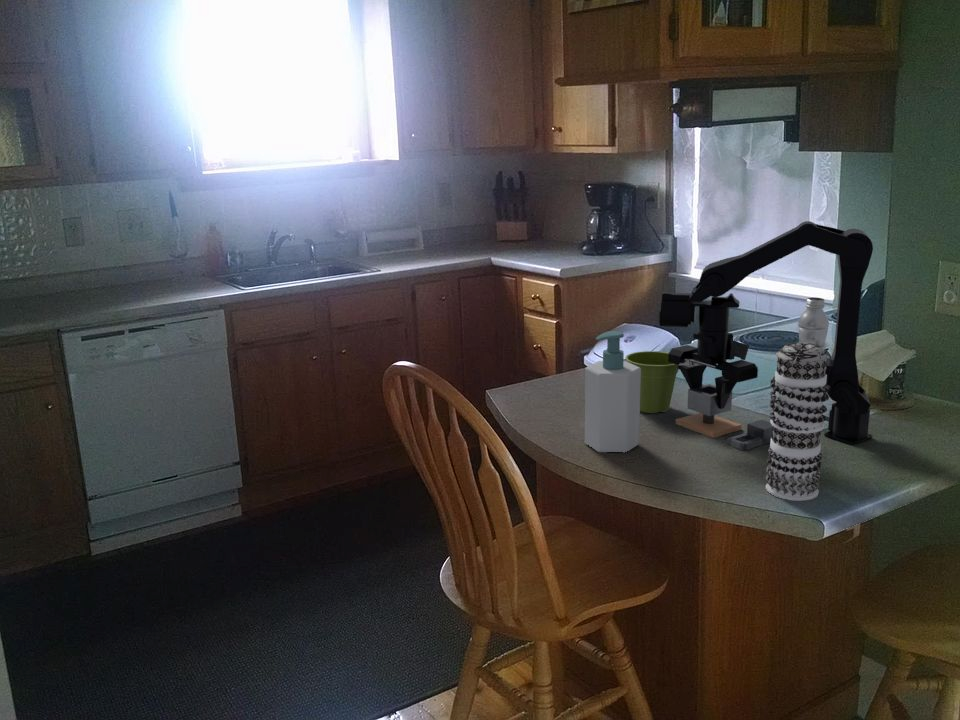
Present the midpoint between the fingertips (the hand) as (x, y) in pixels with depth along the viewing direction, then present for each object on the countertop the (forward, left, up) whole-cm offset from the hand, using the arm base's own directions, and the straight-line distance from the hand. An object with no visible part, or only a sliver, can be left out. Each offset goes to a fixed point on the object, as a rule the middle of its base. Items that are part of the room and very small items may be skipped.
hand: (709, 404), depth 182 cm
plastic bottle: (+6, -39, -5) cm, 40 cm away
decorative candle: (-30, +12, -5) cm, 33 cm away
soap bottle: (+4, +22, -5) cm, 23 cm away
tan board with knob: (0, 0, -5) cm, 5 cm away
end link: (0, 0, -1) cm, 1 cm away
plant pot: (+15, +1, -5) cm, 16 cm away
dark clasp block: (-11, 0, -5) cm, 12 cm away
